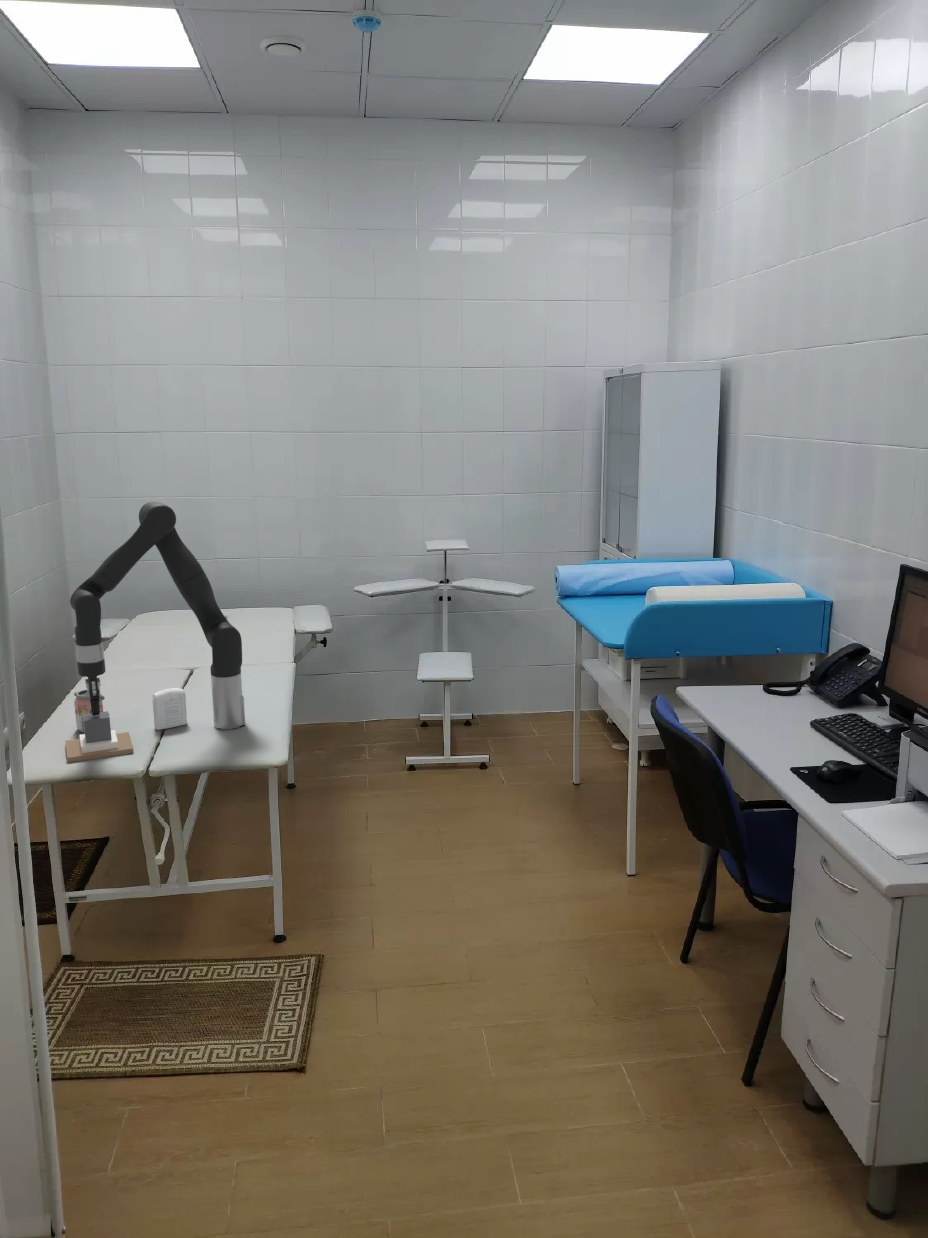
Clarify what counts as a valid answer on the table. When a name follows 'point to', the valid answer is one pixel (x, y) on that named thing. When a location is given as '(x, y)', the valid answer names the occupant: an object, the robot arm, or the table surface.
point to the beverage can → (84, 707)
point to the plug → (97, 727)
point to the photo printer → (169, 708)
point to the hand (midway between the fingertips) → (95, 714)
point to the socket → (98, 747)
